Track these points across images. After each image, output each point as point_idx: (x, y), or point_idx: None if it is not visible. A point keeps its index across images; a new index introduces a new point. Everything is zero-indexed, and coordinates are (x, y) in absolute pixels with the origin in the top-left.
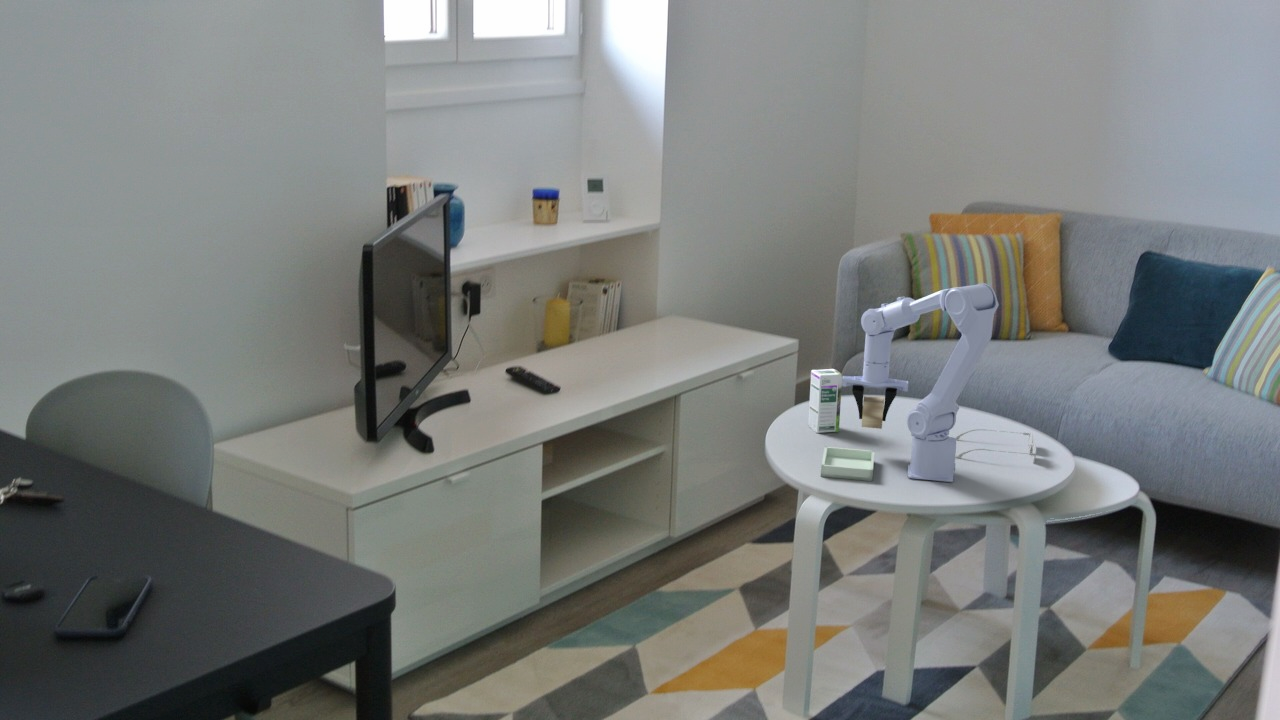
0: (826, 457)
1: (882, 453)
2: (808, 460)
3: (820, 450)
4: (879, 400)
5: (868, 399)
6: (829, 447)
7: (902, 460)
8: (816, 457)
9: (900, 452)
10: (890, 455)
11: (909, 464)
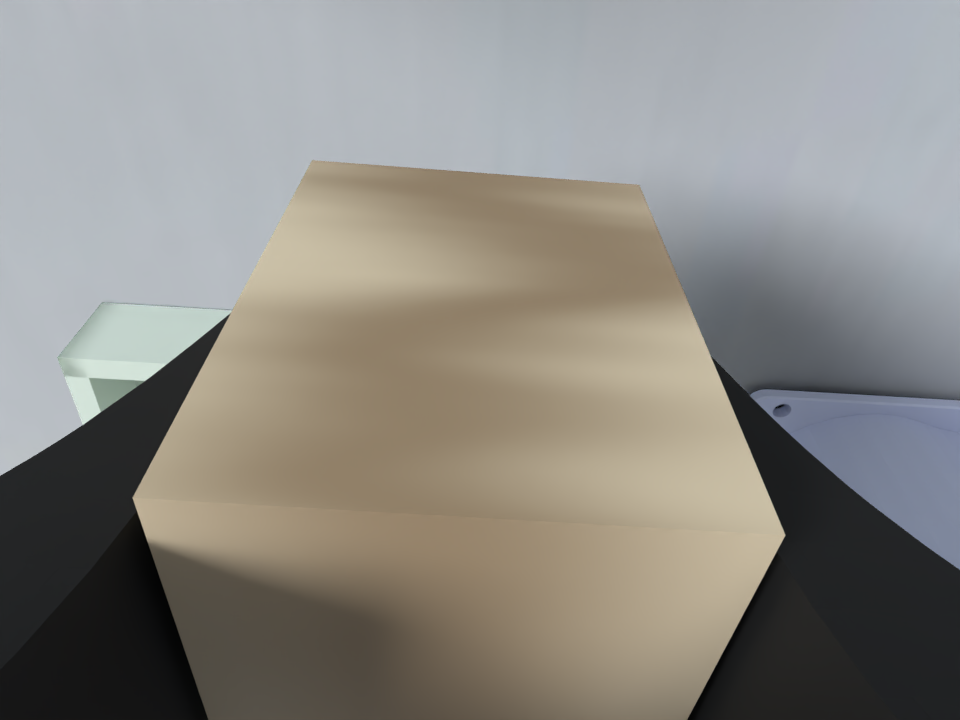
0: (133, 384)
1: (603, 102)
2: (20, 384)
3: (4, 139)
4: (583, 707)
5: (316, 694)
6: (104, 374)
7: (749, 257)
8: (48, 317)
9: (806, 27)
10: (672, 147)
11: (763, 399)
